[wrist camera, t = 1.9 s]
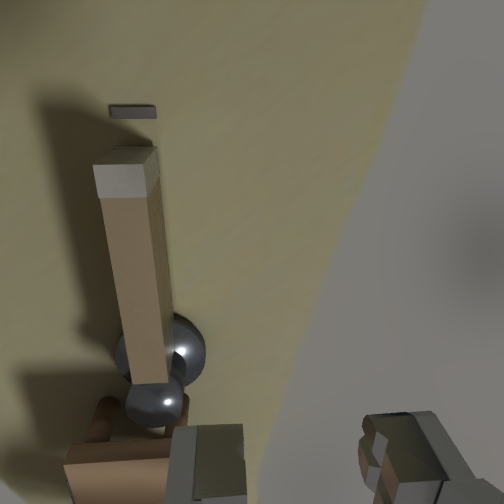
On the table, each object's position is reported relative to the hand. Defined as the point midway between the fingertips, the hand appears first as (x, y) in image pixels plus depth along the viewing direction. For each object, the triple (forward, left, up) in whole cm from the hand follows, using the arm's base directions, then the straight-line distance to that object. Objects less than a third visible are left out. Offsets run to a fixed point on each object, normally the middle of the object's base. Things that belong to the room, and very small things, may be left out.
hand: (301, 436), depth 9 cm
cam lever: (+5, -6, -17) cm, 19 cm away
